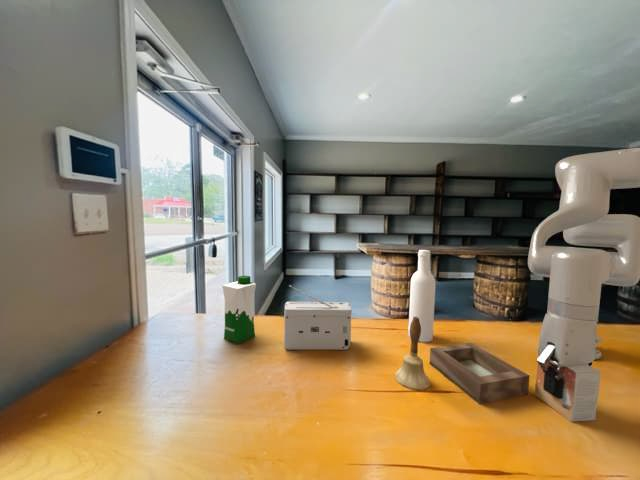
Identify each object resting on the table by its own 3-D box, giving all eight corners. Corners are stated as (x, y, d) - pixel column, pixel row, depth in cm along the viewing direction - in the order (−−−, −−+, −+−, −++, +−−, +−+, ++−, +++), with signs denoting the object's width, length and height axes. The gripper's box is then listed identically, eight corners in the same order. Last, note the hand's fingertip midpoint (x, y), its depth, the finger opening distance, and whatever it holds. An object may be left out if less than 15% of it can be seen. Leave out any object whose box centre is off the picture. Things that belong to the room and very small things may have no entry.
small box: (533, 395, 58) (537, 350, 57) (556, 394, 58) (559, 350, 58) (571, 422, 50) (575, 371, 49) (596, 421, 50) (601, 370, 50)
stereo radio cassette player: (348, 339, 84) (350, 280, 83) (352, 352, 76) (354, 286, 74) (285, 339, 83) (285, 279, 82) (282, 352, 75) (282, 286, 74)
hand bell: (428, 373, 66) (431, 313, 65) (431, 393, 58) (435, 326, 57) (395, 367, 68) (397, 309, 67) (394, 385, 60) (396, 320, 59)
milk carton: (258, 335, 86) (258, 277, 84) (237, 346, 78) (237, 282, 77) (241, 329, 90) (240, 274, 89) (219, 339, 83) (218, 278, 81)
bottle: (435, 343, 82) (440, 252, 80) (409, 341, 84) (414, 251, 81) (429, 333, 90) (434, 249, 88) (406, 331, 91) (410, 248, 89)
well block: (470, 357, 74) (471, 342, 73) (528, 394, 58) (529, 375, 58) (429, 363, 70) (430, 348, 70) (479, 404, 55) (480, 384, 54)
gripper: (578, 301, 58) (572, 376, 60) (521, 306, 54) (515, 386, 55) (624, 312, 51) (615, 397, 52) (563, 319, 47) (554, 411, 48)
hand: (564, 391), depth 54 cm, fingers closed on small box, 6 cm apart
